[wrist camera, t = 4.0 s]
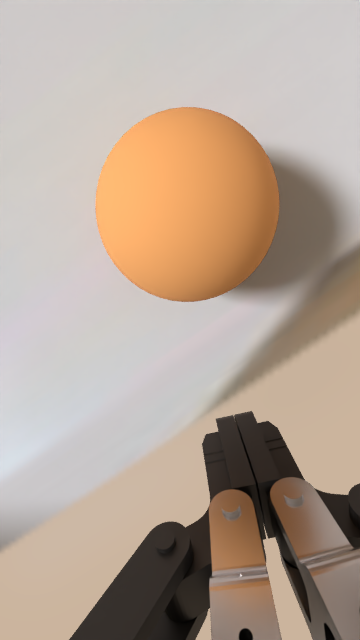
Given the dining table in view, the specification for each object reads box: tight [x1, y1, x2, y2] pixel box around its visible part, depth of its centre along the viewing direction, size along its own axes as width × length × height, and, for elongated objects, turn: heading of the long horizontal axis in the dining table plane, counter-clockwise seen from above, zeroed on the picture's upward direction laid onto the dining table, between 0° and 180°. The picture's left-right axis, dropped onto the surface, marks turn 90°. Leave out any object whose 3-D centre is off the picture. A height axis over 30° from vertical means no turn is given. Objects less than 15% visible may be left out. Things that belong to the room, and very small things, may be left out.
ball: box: [96, 107, 279, 302], centre depth 11 cm, size 6×6×6 cm
